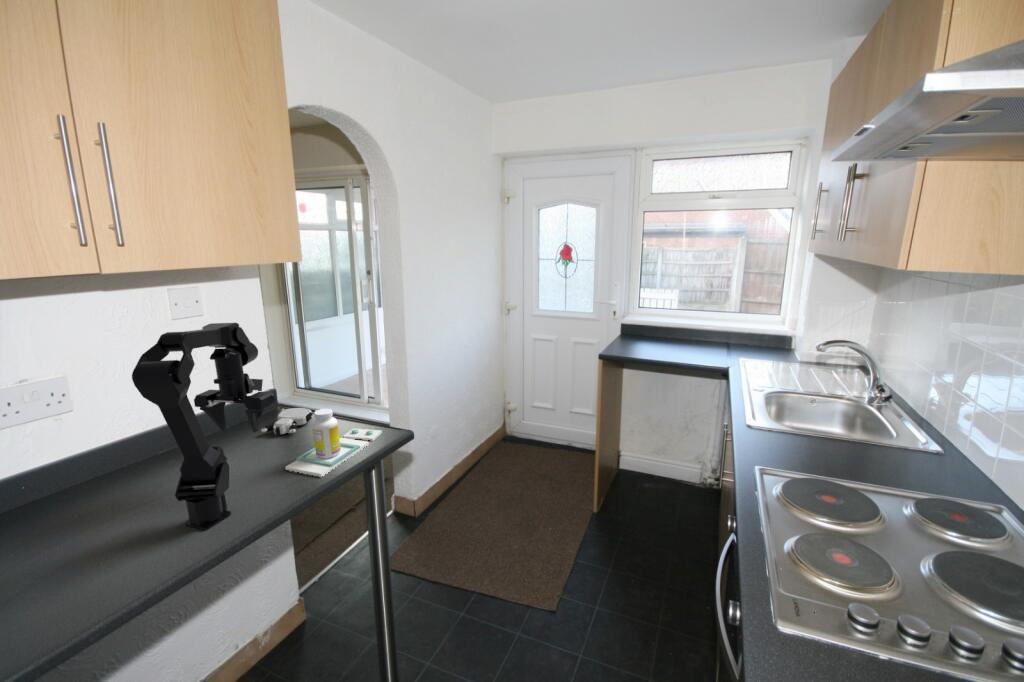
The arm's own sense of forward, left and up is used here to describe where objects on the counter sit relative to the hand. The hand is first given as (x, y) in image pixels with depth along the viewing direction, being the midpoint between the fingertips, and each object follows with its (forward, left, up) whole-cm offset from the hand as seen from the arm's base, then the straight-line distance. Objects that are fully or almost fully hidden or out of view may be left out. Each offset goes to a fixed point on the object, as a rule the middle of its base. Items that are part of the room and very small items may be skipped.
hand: (239, 431), depth 120 cm
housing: (+16, -13, -13) cm, 24 cm away
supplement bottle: (+16, -13, -12) cm, 24 cm away
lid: (+31, -13, -13) cm, 36 cm away
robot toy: (+29, +14, -13) cm, 35 cm away
